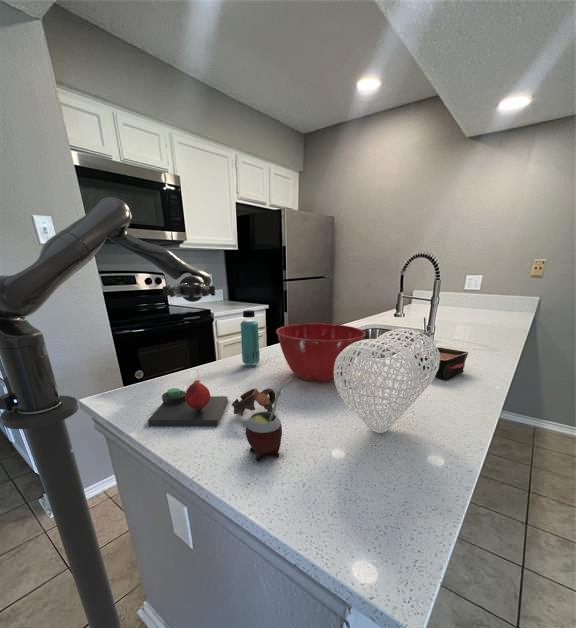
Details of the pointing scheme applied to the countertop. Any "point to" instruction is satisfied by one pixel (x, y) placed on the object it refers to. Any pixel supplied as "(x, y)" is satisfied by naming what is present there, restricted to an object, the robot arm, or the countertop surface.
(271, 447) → the mate gourd
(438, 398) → the countertop surface
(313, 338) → the mixing bowl
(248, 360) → the beverage bottle
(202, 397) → the onion
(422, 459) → the countertop surface
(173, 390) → the button
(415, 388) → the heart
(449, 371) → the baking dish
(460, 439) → the countertop surface
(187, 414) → the scale
